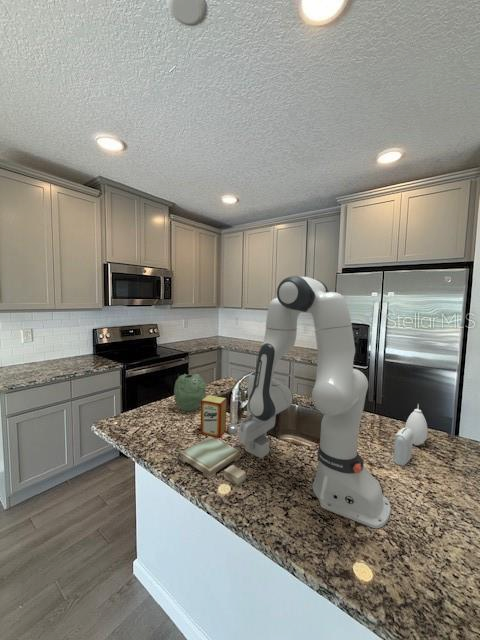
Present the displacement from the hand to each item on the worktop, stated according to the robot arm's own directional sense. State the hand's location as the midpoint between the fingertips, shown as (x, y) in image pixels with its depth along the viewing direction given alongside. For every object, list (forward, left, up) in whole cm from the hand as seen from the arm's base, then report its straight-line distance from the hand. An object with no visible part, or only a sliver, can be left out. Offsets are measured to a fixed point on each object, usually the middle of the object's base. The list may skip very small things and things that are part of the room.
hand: (256, 445), depth 108 cm
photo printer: (-45, -34, -3) cm, 56 cm away
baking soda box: (+23, +1, -3) cm, 24 cm away
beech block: (-4, +18, -3) cm, 19 cm away
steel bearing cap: (+18, -5, -3) cm, 19 cm away
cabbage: (+50, -7, -3) cm, 51 cm away
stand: (+10, +16, -3) cm, 19 cm away
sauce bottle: (-47, -51, -3) cm, 69 cm away
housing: (0, 0, -3) cm, 3 cm away
